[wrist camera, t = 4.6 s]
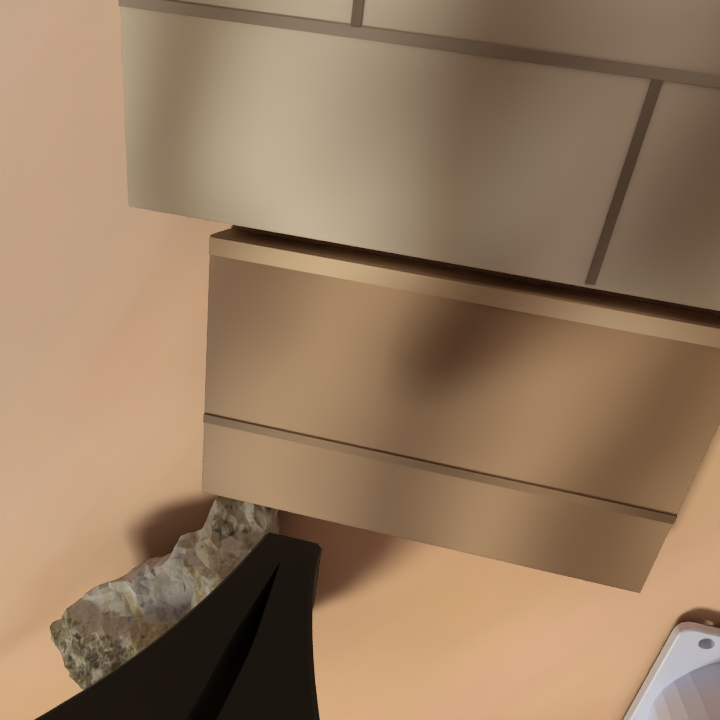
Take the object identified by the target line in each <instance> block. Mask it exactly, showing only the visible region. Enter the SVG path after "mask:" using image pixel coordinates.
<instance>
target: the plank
mask: <svg viewBox="0 0 720 720" xmlns="http://www.w3.org/2000/svg"><path fill="white" fill-rule="evenodd" d="M209 254H210V264H209V294H208V324H207V353H206V383H205V413H204V419H203V422H204V442H203V472H202V492H206V493H210V494H214V495H219V496H223V497H227V498H232V499H236V500H240V501H245V502H249V503H253V504H258V505H262V506H266V507H271V508H275V509H279V510H283V511H288V512H292V513H296V514H301V515H305V516H309V517H314V518H318V519H322V520H327V521H331V522H335V523H340V524H344V525H348V526H353V527H357V528H361V529H365V530H370V531H374V532H378V533H383V534H387V535H391V536H396V537H400V538H404V539H409V540H413V541H417V542H422V543H426V544H430V545H435V546H439V547H443V548H447V549H452V550H456V551H460V552H465V553H469V554H473V555H478V556H482V557H486V558H491V559H495V560H499V561H504V562H508V563H512V564H517V565H521V566H525V567H529V568H534V569H538V570H542V571H547V572H551V573H555V574H560V575H564V576H568V577H573V578H577V579H581V580H586V581H590V582H594V583H599V584H603V585H607V586H611V587H616V588H620V589H624V590H629V591H633V592H637V593H640V592H641V590H642V588H643V585H644V583H645V581H646V579H647V577H648V575H649V573H650V571H651V568H652V566H653V564H654V562H655V560H656V558H657V556H658V553H659V551H660V549H661V547H662V545H663V543H664V541H665V539H666V536H667V534H668V532H669V530H670V528H671V526H672V524H674V522H675V520H676V518H677V516H676V515H677V513H678V511H679V509H680V507H681V504H682V502H683V500H684V498H685V496H686V494H687V492H688V489H689V487H690V485H691V483H692V481H693V479H694V477H695V475H696V472H697V470H698V468H699V466H700V464H701V462H702V460H703V457H704V455H705V453H706V451H707V449H708V447H709V445H710V443H711V440H712V438H713V436H714V434H715V432H716V430H717V428H718V425H719V423H720V316H717V315H711V314H706V313H700V312H694V311H689V310H683V309H678V308H672V307H666V306H661V305H655V304H650V303H644V302H638V301H633V300H627V299H621V298H616V297H610V296H605V295H599V294H593V293H588V292H582V291H577V290H571V289H565V288H560V287H554V286H548V285H543V284H537V283H532V282H526V281H520V280H515V279H509V278H504V277H498V276H492V275H487V274H481V273H475V272H470V271H464V270H459V269H453V268H447V267H442V266H436V265H431V264H425V263H419V262H414V261H408V260H403V259H397V258H391V257H386V256H380V255H374V254H369V253H363V252H358V251H352V250H346V249H341V248H335V247H330V246H324V245H318V244H313V243H307V242H301V241H296V240H290V239H285V238H279V237H273V236H268V235H262V234H257V233H251V232H245V231H240V230H234V229H227V230H224V231H221V232H218V233H215V234H212V235H210V238H209Z"/></svg>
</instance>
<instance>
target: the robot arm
mask: <svg viewBox="0 0 720 720" xmlns="http://www.w3.org/2000/svg"><path fill="white" fill-rule="evenodd" d="M321 550H322V549H321V547H320V546H319V545H318V544H317V543H312V542H308V541H304V540H300V539H296V538H291V537H287V536H283V535H279V534H274V533H270V532H269V533H267V534H265V535H264V536H263V537H262V539H261V540H260V541H259V542H258V543H257V545H256V546H255V547H254V548H253V549H252V550H251V552H250V553H249V554H248V555H247V556H246V557H245V558H244V559H243V560H242V561H241V562H240V563H239V565H238V566H237V567H236V568H235V569H234V570H233V571H232V572H231V573H230V574H229V575H228V576H227V577H226V578H225V579H224V580H223V581H222V582H221V583H220V584H219V585H218V586H217V587H216V588H215V589H214V590H213V591H212V592H211V593H210V594H209V595H207V596H206V597H205V598H204V599H203V600H202V601H201V602H200V603H199V604H198V605H196V606H195V607H194V608H193V609H192V610H191V611H190V612H189V613H187V614H186V615H185V616H184V617H183V618H182V619H181V620H179V621H178V622H177V623H176V624H175V625H174V626H172V627H171V628H170V629H169V630H167V631H166V632H165V633H164V634H163V635H161V636H160V637H159V638H158V639H156V640H155V641H154V642H152V643H151V644H150V645H148V646H147V647H146V648H144V649H143V650H142V651H141V652H139V653H138V654H136V655H135V656H134V657H132V658H131V659H129V660H128V661H127V662H125V663H124V664H122V665H121V666H119V667H118V668H117V669H115V670H114V671H112V672H111V673H110V674H108V675H107V676H105V677H104V678H102V679H101V680H99V681H98V682H96V683H94V684H93V685H91V686H90V687H88V688H87V689H85V690H83V691H82V692H80V693H78V694H77V695H75V696H73V697H72V698H70V699H68V700H67V701H65V702H63V703H62V704H60V705H58V706H57V707H55V708H53V709H52V710H50V711H49V712H47V713H45V714H44V715H42V716H40V717H38V718H36V719H35V720H320V718H319V711H318V703H317V694H316V685H315V674H314V661H313V641H312V609H313V605H314V600H315V593H316V585H317V578H318V571H319V564H320V557H321ZM705 638H706V639H705ZM623 720H720V628H715V627H711V626H707V625H703V624H698V623H694V622H682V623H680V624H678V625H677V626H676V627H675V628H674V629H673V631H672V633H671V634H670V636H669V638H668V640H667V642H666V643H665V645H664V647H663V649H662V651H661V652H660V654H659V656H658V658H657V660H656V661H655V663H654V665H653V667H652V669H651V670H650V672H649V674H648V676H647V678H646V679H645V681H644V683H643V685H642V687H641V689H640V690H639V692H638V694H637V696H636V698H635V699H634V701H633V703H632V705H631V707H630V708H629V710H628V712H627V714H626V716H625V717H624V719H623Z"/></svg>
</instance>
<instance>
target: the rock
mask: <svg viewBox="0 0 720 720" xmlns="http://www.w3.org/2000/svg"><path fill="white" fill-rule="evenodd" d="M278 510H279V509H275V508H271V507H266V506H262V505H258V504H253V503H249V502H245V501H240V500H236V499H232V498H227V497H223V496H219V497H218V498H217V499H215V500H214V503H213V505H212V507H211V509H210V512H209V515H208V517H207V520H206V522H205V524H204V526H203V527H202V528H201V529H199V530H197V531H194V532H190V533H187V534H184V535H181V536H180V538H179V540H178V542H177V544H176V545H175V547H174V550H173V551H172V552H171V553H168V554H166V555H165V556H162V557H154V558H149V559H148V560H147V561H145V562H144V563H142V564H140V565H139V566H137V567H135V568H134V569H132V570H131V571H130V572H129V573H128V574H126V575H125V576H123V577H121V578H119V579H117V580H114V581H110V582H107V583H104V584H101V585H99V586H97V587H95V588H93V589H91V590H90V591H88V592H87V593H85V595H84V596H83V598H81V599H79V600H78V601H77V602H76V603H74V604H73V605H71V606H70V607H69V608H67V609H66V611H65V612H64V614H63V616H62V619H60V620H57V621H55V622H53V623H52V624H51V626H50V630H51V639H52V641H53V642H54V643H55V645H56V646H57V647H58V649H59V650H60V652H61V654H62V657H63V660H64V665H65V668H66V669H67V670H68V671H69V672H70V675H69V676H70V677H71V678H72V679H73V680H74V681H75V682H76V683H77V684H78V685H79V686H80V687H81V688H82V689H83V690H85V689H87V688H88V687H90V686H91V685H93V684H94V683H96V682H98V681H99V680H101V679H102V678H104V677H105V676H107V675H108V674H110V673H111V672H112V671H114V670H115V669H117V668H118V667H119V666H121V665H122V664H124V663H125V662H127V661H128V660H129V659H131V658H132V657H134V656H135V655H136V654H138V653H139V652H141V651H142V650H143V649H144V648H146V647H147V646H148V645H150V644H151V643H152V642H154V641H155V640H156V639H158V638H159V637H160V636H161V635H163V634H164V633H165V632H166V631H167V630H169V629H170V628H171V627H172V626H174V625H175V624H176V623H177V622H178V621H179V620H181V619H182V618H183V617H184V616H185V615H186V614H187V613H189V612H190V611H191V610H192V609H193V608H194V607H195V606H196V605H198V604H199V603H200V602H201V601H202V600H203V599H204V598H205V597H206V596H207V595H209V594H210V593H211V592H212V591H213V590H214V589H215V588H216V587H217V586H218V585H219V584H220V583H221V582H222V581H223V580H224V579H225V578H226V577H227V576H228V575H229V574H230V573H231V572H232V571H233V570H234V569H235V568H236V567H237V566H238V565H239V563H240V562H241V561H242V560H243V559H244V558H245V557H246V556H247V555H248V554H249V553H250V552H251V550H252V549H253V548H254V547H255V546H256V545H257V543H258V542H259V541H260V540H261V539H262V537H263V536H264V535H265V534H267V533H269V532H270V533H274V534H279V531H280V526H279V520H278V517H277V514H278Z"/></svg>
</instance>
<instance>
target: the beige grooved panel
mask: <svg viewBox="0 0 720 720" xmlns="http://www.w3.org/2000/svg"><path fill="white" fill-rule="evenodd" d="M119 6H120V12H121V36H122V61H123V85H124V109H125V133H126V157H127V181H128V205H129V206H130V207H136V208H142V209H147V210H153V211H158V212H164V213H170V214H175V215H181V216H187V217H192V218H198V219H204V220H209V221H215V222H221V223H226V224H232V225H237V226H243V227H249V228H254V229H260V230H266V231H271V232H277V233H283V234H288V235H294V236H300V237H305V238H311V239H316V240H322V241H328V242H333V243H339V244H345V245H350V246H356V247H362V248H367V249H373V250H379V251H384V252H390V253H396V254H401V255H407V256H412V257H418V258H424V259H429V260H435V261H441V262H446V263H452V264H458V265H463V266H469V267H475V268H480V269H486V270H491V271H497V272H503V273H508V274H514V275H520V276H525V277H531V278H537V279H542V280H548V281H554V282H559V283H565V284H570V285H576V286H582V287H587V288H593V289H599V290H604V291H610V292H616V293H621V294H627V295H633V296H638V297H644V298H649V299H655V300H661V301H666V302H672V303H678V304H683V305H689V306H695V307H700V308H706V309H712V310H717V311H720V0H119Z"/></svg>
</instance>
